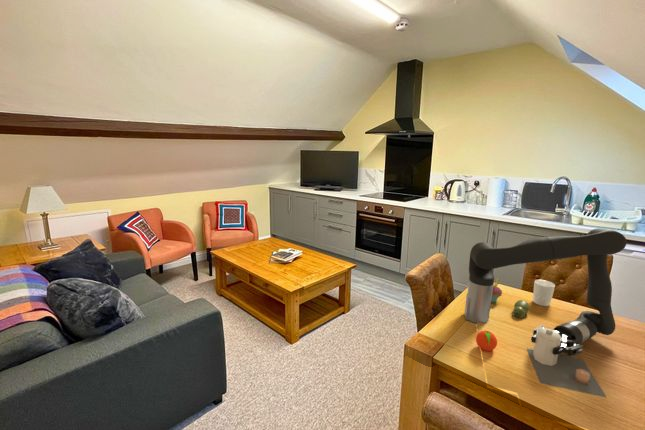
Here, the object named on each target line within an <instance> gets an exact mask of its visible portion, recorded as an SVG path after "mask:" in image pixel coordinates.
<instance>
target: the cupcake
mask: <svg viewBox="0 0 645 430" xmlns="http://www.w3.org/2000/svg"><path fill="white" fill-rule="evenodd" d="M499 280H500V277H497V278H496V282H495V283H494V284H493V291H492V299H491V303H495V302H497V301H498V299H499V298H500V297H501V296H502V294H503V291H502V289H501V288H500V287H498V286H497V285H498V284H499V283H498V281H499Z"/></svg>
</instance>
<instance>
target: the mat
mask: <svg viewBox="0 0 645 430" xmlns="http://www.w3.org/2000/svg"><path fill="white" fill-rule="evenodd" d="M525 349H526V351H527V354H528V356H529V358H530V361H531V363H532V366H533V368H534V370H535V374H536V376H537V379H538V381H539V383H540V384H544V385H548V386H553V387H557V388H562V389H567V390H571V391H574V392H575V391H576V392H581V393H584V394H585V393H586V394H589V395H594V396H598V397H604V398H607V395H606V393H605V392H604V390H603V389H602V387H601V385H600V384H599V382H598V381H597V380H596V378H595V376H594V375H593V373H592V372H591V370H590V369H589V367H588V365H587V363H586V362H585V360H584V359H583V358H579V357H573V356H569V355H563V354H559V355H558V358H557V363H556V364H555V365H552V366H550V365H545V364H542V363H540V362H538V361H537V360H535V359H534V356H533V350H534V349H532V348H525ZM577 369H583V370H585V371H587V372H588V373H589V374H590V378H589V382H588V384H587V385H584V384H580V383H578V382H577V381H576V380H575V374H576V370H577Z"/></svg>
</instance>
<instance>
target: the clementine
mask: <svg viewBox="0 0 645 430" xmlns="http://www.w3.org/2000/svg"><path fill="white" fill-rule="evenodd" d="M475 342H476V345H477V347H478V348H480V349H481V350H483V351H486V352H490V351H493V350H495V349H496V348H497V345H498V340H497V337H496V336H495V334H494V333H493V332H491V331H490V330H489V331H488V330H481V331H478V333H477V334H476V337H475Z"/></svg>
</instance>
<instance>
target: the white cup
mask: <svg viewBox="0 0 645 430" xmlns="http://www.w3.org/2000/svg"><path fill="white" fill-rule="evenodd" d="M555 287H556V284H555V283H554V282H552V281H549V280H546V279H545V280H544V279H535V280H534V284H533V293H532V294H533V296H532V302H533V303H534V304H536V305H539V306H542V307H549V306H550V305H551V302H552V299H553V295H554V291H555Z"/></svg>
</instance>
